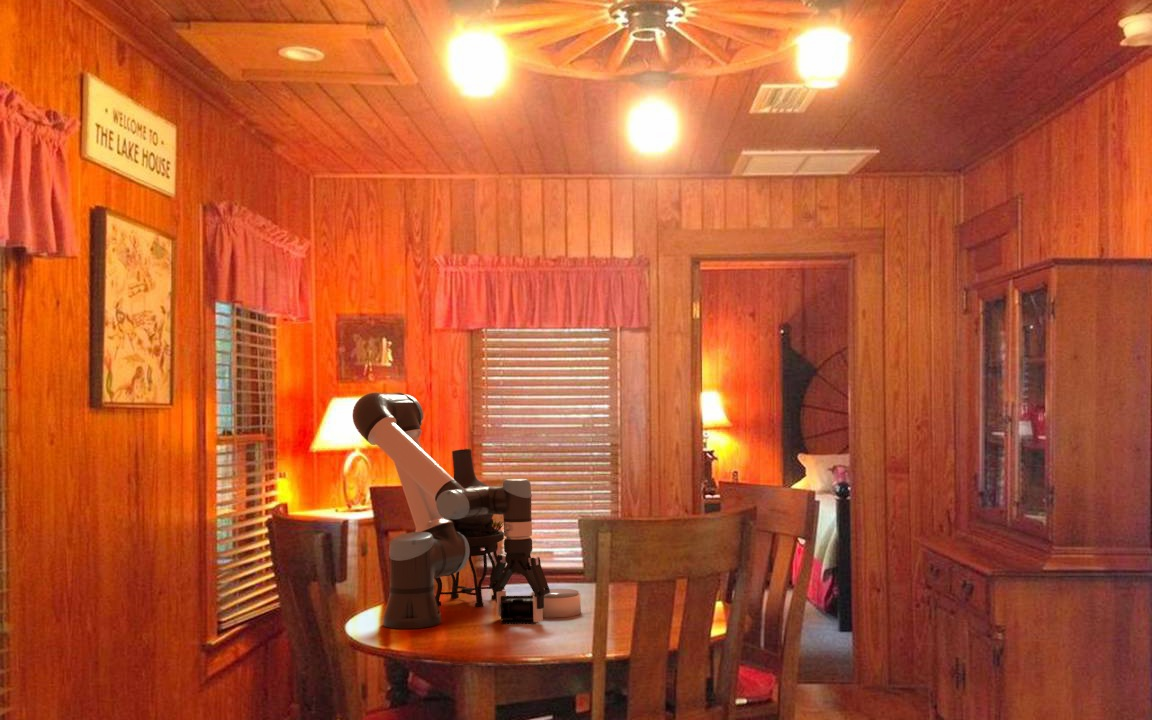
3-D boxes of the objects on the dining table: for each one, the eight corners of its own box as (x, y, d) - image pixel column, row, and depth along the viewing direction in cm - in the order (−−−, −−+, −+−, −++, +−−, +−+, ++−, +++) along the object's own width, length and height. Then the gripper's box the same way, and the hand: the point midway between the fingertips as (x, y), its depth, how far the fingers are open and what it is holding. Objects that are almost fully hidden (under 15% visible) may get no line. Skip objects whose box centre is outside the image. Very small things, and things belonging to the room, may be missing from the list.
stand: (519, 613, 291) (519, 593, 291) (554, 606, 301) (553, 586, 302) (556, 619, 282) (556, 598, 282) (591, 611, 292) (590, 591, 292)
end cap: (539, 619, 283) (539, 593, 283) (537, 624, 276) (536, 598, 276) (502, 619, 283) (501, 594, 284) (499, 624, 276) (498, 598, 277)
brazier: (519, 598, 317) (516, 447, 319) (475, 610, 297) (472, 450, 300) (459, 593, 328) (457, 448, 331) (412, 605, 309) (410, 450, 311)
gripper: (475, 536, 287) (476, 615, 285) (542, 541, 270) (543, 625, 269) (495, 533, 292) (497, 611, 291) (562, 538, 275) (563, 621, 274)
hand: (519, 618), depth 280 cm, fingers open, 13 cm apart
